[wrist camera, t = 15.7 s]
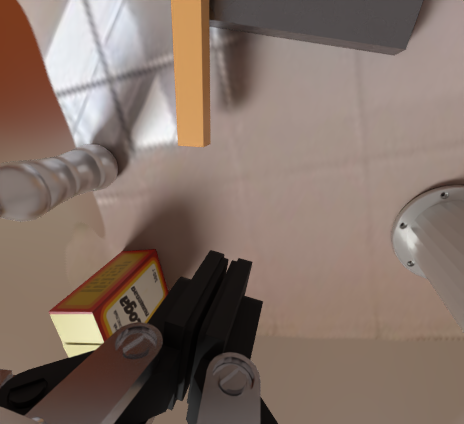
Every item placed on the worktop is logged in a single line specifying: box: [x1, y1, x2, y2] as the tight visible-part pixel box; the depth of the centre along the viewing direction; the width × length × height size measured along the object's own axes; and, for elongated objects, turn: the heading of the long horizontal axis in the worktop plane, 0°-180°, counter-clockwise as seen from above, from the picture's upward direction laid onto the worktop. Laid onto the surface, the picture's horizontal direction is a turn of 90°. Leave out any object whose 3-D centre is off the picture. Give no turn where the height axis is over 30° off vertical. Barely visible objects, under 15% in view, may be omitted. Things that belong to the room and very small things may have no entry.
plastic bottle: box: [0, 144, 118, 221], centre depth 35 cm, size 6×7×20 cm
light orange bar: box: [171, 0, 210, 147], centre depth 29 cm, size 22×3×2 cm, turn 179°
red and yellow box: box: [49, 249, 168, 358], centre depth 43 cm, size 10×6×16 cm
